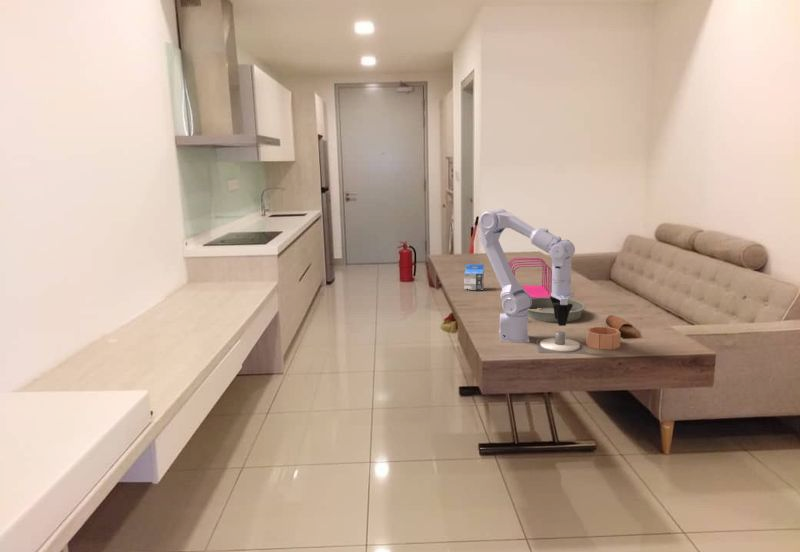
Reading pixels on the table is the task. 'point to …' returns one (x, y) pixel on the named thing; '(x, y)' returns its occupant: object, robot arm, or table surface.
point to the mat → (579, 351)
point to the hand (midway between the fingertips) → (560, 322)
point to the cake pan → (548, 310)
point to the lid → (560, 343)
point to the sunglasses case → (622, 327)
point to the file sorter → (541, 290)
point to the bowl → (603, 337)
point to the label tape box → (474, 277)
